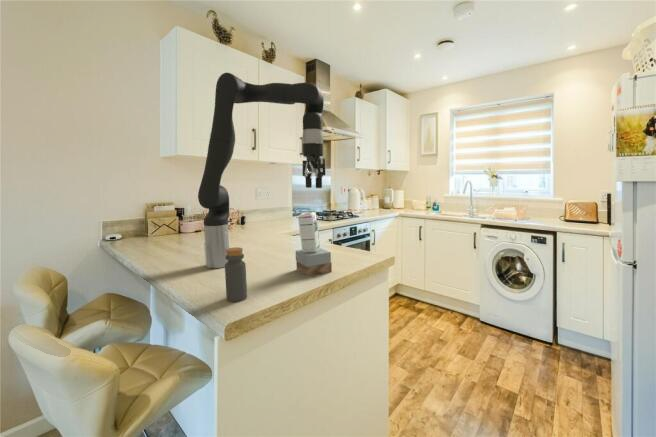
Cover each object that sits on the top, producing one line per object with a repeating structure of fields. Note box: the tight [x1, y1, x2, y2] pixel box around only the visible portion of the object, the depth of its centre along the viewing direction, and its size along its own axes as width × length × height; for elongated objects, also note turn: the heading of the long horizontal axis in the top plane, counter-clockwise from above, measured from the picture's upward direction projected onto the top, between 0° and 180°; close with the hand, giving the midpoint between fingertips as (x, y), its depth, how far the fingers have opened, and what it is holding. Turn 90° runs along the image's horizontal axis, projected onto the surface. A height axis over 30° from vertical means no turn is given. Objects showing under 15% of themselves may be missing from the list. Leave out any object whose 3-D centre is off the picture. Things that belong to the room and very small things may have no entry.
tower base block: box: [295, 260, 333, 277], centre depth 115 cm, size 10×10×4 cm
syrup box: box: [297, 211, 321, 252], centre depth 113 cm, size 6×6×14 cm
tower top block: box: [295, 247, 332, 267], centre depth 114 cm, size 10×10×4 cm
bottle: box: [224, 247, 248, 303], centre depth 88 cm, size 6×6×15 cm
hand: (313, 187), depth 111 cm, fingers open, 8 cm apart
